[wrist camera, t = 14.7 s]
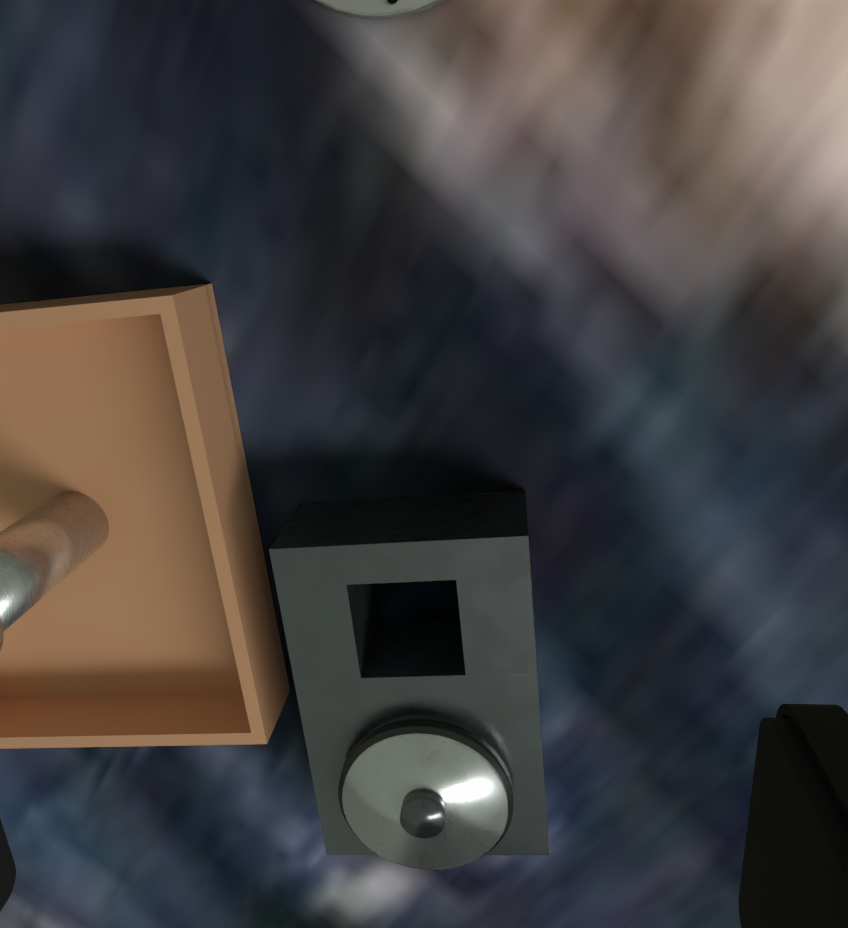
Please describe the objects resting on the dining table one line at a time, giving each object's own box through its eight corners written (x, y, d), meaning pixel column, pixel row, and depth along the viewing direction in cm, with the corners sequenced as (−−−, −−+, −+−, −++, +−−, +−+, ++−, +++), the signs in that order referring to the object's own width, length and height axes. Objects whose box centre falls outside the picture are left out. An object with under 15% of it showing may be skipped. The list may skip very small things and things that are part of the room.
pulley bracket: (299, 503, 44) (253, 572, 36) (525, 490, 42) (529, 559, 34) (346, 780, 50) (316, 891, 42) (543, 778, 48) (551, 893, 40)
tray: (-152, 319, 43) (-233, 335, 38) (211, 283, 40) (172, 295, 35) (-18, 698, 51) (-71, 749, 46) (290, 690, 48) (266, 744, 43)
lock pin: (21, 482, 44) (-155, 587, 32) (108, 477, 43) (-40, 582, 31) (46, 565, 46) (-113, 693, 34) (129, 561, 45) (-3, 691, 33)
